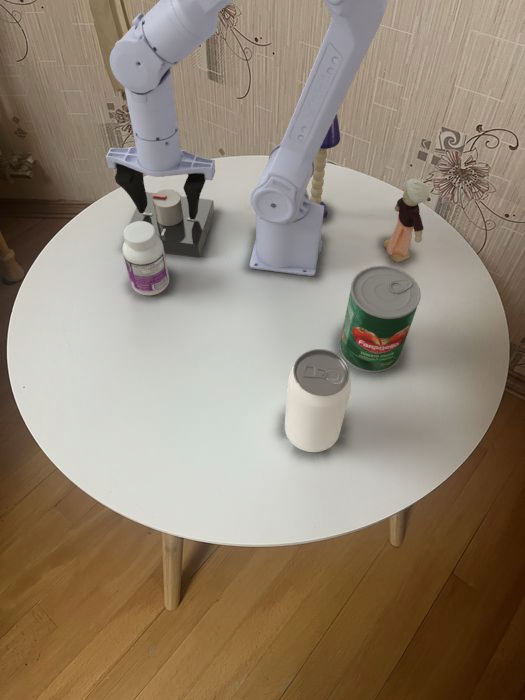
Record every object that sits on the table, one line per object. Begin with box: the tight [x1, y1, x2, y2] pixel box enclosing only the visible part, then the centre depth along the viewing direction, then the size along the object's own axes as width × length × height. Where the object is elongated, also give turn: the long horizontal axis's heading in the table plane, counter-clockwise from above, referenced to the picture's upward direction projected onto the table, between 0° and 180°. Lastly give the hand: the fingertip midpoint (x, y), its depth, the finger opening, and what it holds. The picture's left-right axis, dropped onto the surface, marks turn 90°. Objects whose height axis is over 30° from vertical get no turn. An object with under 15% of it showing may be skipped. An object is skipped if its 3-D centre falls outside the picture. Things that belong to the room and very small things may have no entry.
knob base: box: [128, 191, 215, 258], centre depth 85 cm, size 11×10×3 cm
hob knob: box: [153, 188, 183, 226], centre depth 82 cm, size 4×4×4 cm
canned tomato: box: [339, 265, 422, 374], centre depth 69 cm, size 8×8×11 cm
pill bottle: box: [121, 221, 170, 296], centre depth 76 cm, size 5×5×10 cm
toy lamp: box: [309, 113, 341, 220], centre depth 82 cm, size 5×5×17 cm
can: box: [284, 348, 352, 453], centre depth 61 cm, size 6×6×12 cm
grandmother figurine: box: [383, 178, 430, 263], centre depth 78 cm, size 8×4×13 cm, turn 27°
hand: (168, 211), depth 83 cm, fingers open, 7 cm apart
